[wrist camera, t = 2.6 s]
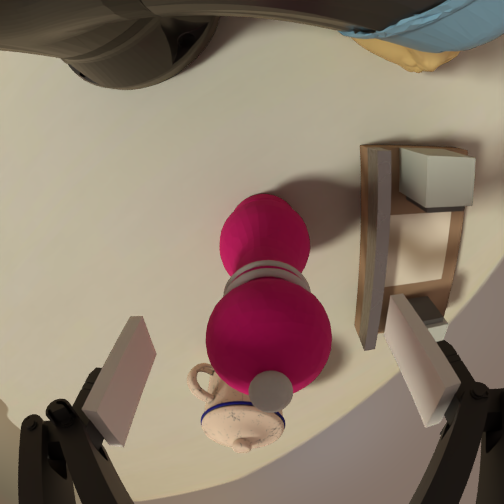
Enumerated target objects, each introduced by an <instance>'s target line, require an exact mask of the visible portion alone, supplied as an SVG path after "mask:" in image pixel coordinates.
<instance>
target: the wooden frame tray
mask: <svg viewBox="0 0 504 504" xmlns="http://www.w3.org/2000/svg"><path fill="white" fill-rule="evenodd" d="M368 147H380V148H384V149H387V150H390V151H391V213H390V232H389V246H388V258H387V268H386V278H385V286H384V294H383V302H382V309H381V316H380V322H379V328H378V333H384V331H385V326H386V320H387V314H388V308H389V301H390V295H396V294H404V296H405V297H406V298H407V299H411V298H417V297H423V296H428V297H429V298H430V300H431V301H432V302H433V304H434V305H435V306H436V307H437V309H438V310H439V311H440V313H441V314H442V315H443V317H444V314H445V310H446V306H447V302H448V298H449V294H450V290H451V286H452V281H453V277H454V272H455V267H456V261H457V256H458V250H459V244H460V238H461V231H462V224H463V215H464V211H455V212H436V213H426V212H425V211H423V210H422V209H420V208H419V207H417V206H416V205H414V204H413V203H411V202H410V201H408V200H407V199H406V195H404V194H402V193H401V192H399V173H400V160H399V148H432V149H446V150H449V151H453V152H457V153H460V154H464V155H467V156H468V151H467V150H463V149H459V148H452V147H435V146H409V145H360V159H361V240H360V263H359V279H358V293H357V305H356V316H355V328H356V331H357V333H358V336H359V331H360V323H361V314H362V304H363V294H364V282H365V269H366V253H367V230H368V154H367V148H368Z"/></svg>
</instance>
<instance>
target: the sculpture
mask: <svg viewBox="0 0 504 504" xmlns="http://www.w3.org/2000/svg"><path fill="white" fill-rule="evenodd" d="M351 38H352V37H351ZM352 39H353V40H354V41H355V42H357V43H358V44H359V45H361V46H362V47H363V48H365V49H367V50H368V51H370V52H372V53H374V54H376V55H378V56H380V57H382V58H384V59H386V60H388V61H390V62H393V63H395V64H398V65H399V66H401V67H402V68H404V69H405V70H407V71H409V72H416V73H420V72H422V71H430V72H432V71H434V70H436V68H437V67H439V66H440V65H441V64H444V63H447V62H449V61H450V60H452V59H453V58H455V57H456V56H457V55H458V54H459V53H460V51H458V52H457V51H445V52H442V53H429V52H422V51H418V50H414V49H411V48H408V47H404V46H401V45H398V44H394V43H391V42H387V41H383V40H379V39H357V38H352Z"/></svg>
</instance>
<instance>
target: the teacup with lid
mask: <svg viewBox="0 0 504 504" xmlns="http://www.w3.org/2000/svg"><path fill="white" fill-rule="evenodd" d="M198 372H206V373H208V374H210V380H209V386H208V392H206V391H205V390H203V389H202V388H201V387H200V386H199V384H198V382H197V373H198ZM187 384H188V387H189V389H190V390H191V392H192V393H193V394H194V395H195V396H196V397H197V398H199V399H200V400H202V401H204V402H206V405H205V411H204V413H203V415H202V417H201V425H202V429H203V431H204V432H205V434H206V435H207V436H208V437H209V438H210V439H212V440H213V441H215V442H217V443H219V444H221V445H224V446H228V447H232V449H233V450H234V451H235V452H238V453H247V452H249V451H250V450H251V448H258V447H263V446H266V445H269V444H271V443H273V442H274V441H276V440H277V439H278V438H279V437H280V436H281V435H282V433H283V431H284V428H285V420H284V418H283V415H282V410H280V411H278V412H274V413H267V412H262V411H261V410H259V409H258V408H256V407H255V406H254V405H253V404H252V402H251V401H250V398H249V395H246V394H244V393H241V392H239V391H237V390H235V389H234V388H232V387H230V386H229V385H228V384H226V383H225V382H224V381H223V380H222V379H221V378H220V377H219V376H218V374H217V373H216V372H215V370H214V368H213V367H212V365H210V364H207V363H201V364H198V365H196V366H195V367H193V368H192V369H191V371H190V372H189V374H188V377H187Z"/></svg>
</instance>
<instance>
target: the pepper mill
mask: <svg viewBox="0 0 504 504" xmlns="http://www.w3.org/2000/svg"><path fill="white" fill-rule="evenodd" d="M309 252H310V239H309V234H308V231H307V227H306V225H305V223H304V221H303V220H302V218H301V217H300V216H299V214H298V213H297V212H296V211H294V210H293V209H292V208H291V206H290V205H289V204H288V203H287V202H286V201H284V200H283V199H281V198H279V197H277V196H274V195H270V194H258V195H254V196H251V197H248V198H247V199H245V200H243V201H242V202H241V203H240V204H239V205H238V206H237V207H236V209H235V210H234V212H233V213H232V214H231V215H230V216H229V217H228V219H227V220H226V222H225V224H224V226H223V228H222V231H221V236H220V255H221V259H222V262H223V265H224V267H225V269H226V271H227V272H228V274H229V275H230V276H231V278H230V279H229V280H228V282H227V284H226V286H225V289H224V295H223V298H222V299H221V300H220V301H219V302H218V303H217V304H216V306H215V308H214V310H213V312H212V314H211V316H210V318H209V321H208V325H207V331H206V347H207V354H208V357H209V360H210V363H211V365H212V367H213V368H214V370H215V372H216V373H217V374H218V376H219V377H220V378H221V379H222V380H223V381H224V382H225V383H226V384H228V385H229V386H230V387H232V388H234V389H235V390H237V391H239V392H241V393H244V394H246V395H249V398H250V401H251V402H252V404H253V405H254V406H255V407H256V408H258V409H259V410H261V411H262V412H267V413H274V412H278V411H280V410H282V409H284V408H285V407H286V406H287V405H288V404H289V403H290V401H291V399H292V396H293V393H295V392H297V391H299V390H301V389H303V388H304V387H306V386H307V385H309V384H310V383H311V382H312V381H314V380H315V379H316V377H317V376H318V375H319V374H320V372H321V371H322V369H323V368H324V366H325V364H326V362H327V360H328V357H329V354H330V351H331V342H332V334H331V326H330V322H329V319H328V316H327V314H326V312H325V309H324V307H323V305H322V304H321V303H320V302H319V300H318V299H317V298H316V297H315V296H314V295H313V294H312V293H311V291H310V287H309V284H308V282H307V280H306V279H305V277H304V276H303V275H302V274H301V273H302V271H303V269H304V268H305V266H306V263H307V260H308V257H309Z"/></svg>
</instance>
